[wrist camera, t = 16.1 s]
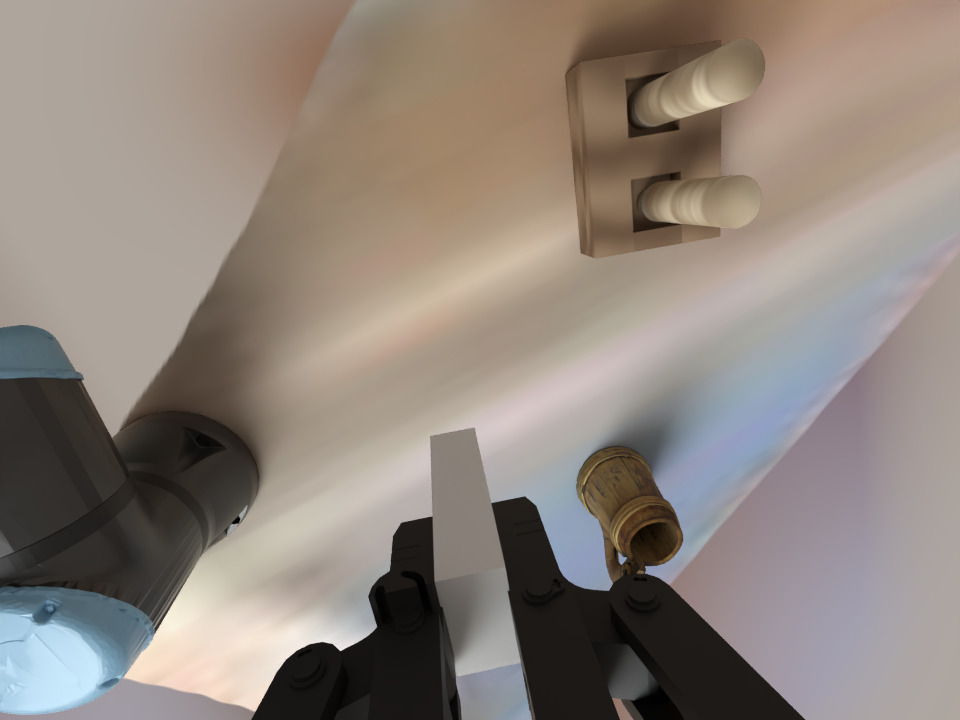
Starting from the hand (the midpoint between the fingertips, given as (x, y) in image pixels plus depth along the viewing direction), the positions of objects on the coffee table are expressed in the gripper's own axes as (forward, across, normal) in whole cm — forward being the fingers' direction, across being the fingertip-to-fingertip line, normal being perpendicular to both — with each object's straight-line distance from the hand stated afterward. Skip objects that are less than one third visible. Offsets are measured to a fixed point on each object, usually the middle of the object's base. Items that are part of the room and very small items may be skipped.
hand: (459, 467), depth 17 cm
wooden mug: (+35, -15, +28) cm, 47 cm away
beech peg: (+32, -21, -5) cm, 39 cm away
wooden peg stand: (+34, -21, -9) cm, 41 cm away
